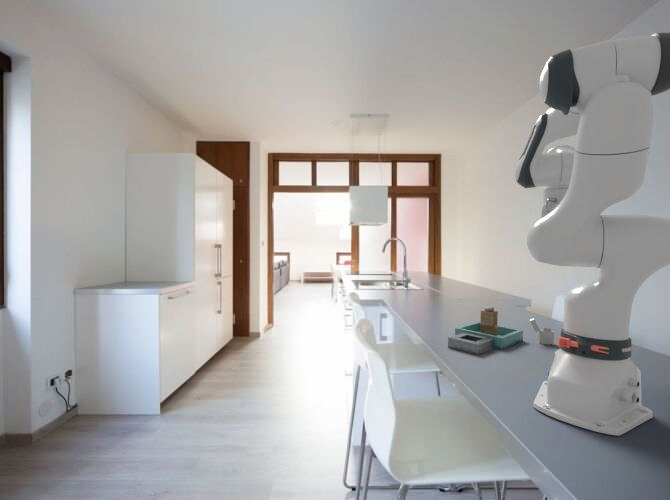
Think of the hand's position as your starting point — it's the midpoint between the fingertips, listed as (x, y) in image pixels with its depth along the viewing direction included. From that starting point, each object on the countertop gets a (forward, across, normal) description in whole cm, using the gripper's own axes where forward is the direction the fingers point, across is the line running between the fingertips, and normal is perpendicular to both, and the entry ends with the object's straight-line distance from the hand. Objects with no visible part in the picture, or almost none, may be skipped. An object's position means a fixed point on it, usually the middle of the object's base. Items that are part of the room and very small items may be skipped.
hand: (557, 243), depth 110 cm
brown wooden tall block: (+32, -7, +18) cm, 38 cm away
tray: (+33, -7, +18) cm, 38 cm away
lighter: (+33, +3, +5) cm, 34 cm away
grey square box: (+33, -21, +17) cm, 43 cm away
